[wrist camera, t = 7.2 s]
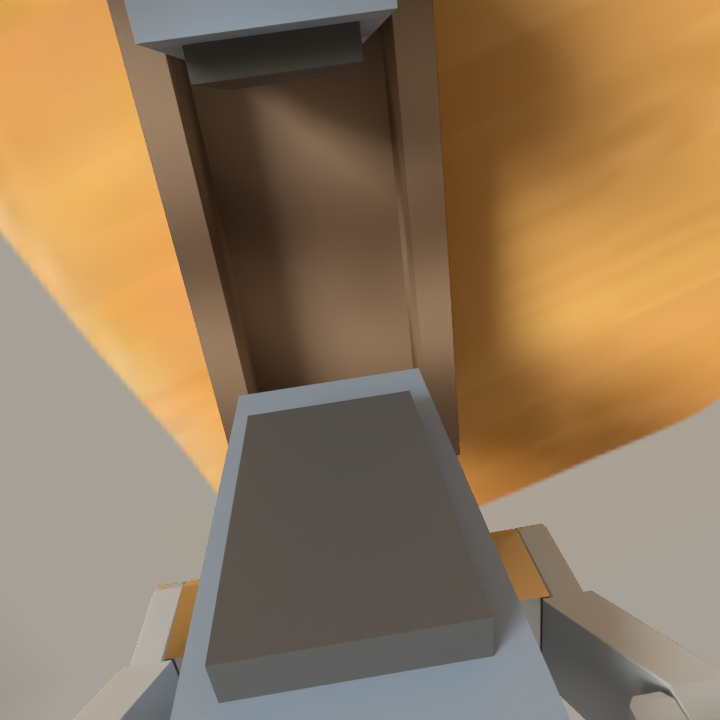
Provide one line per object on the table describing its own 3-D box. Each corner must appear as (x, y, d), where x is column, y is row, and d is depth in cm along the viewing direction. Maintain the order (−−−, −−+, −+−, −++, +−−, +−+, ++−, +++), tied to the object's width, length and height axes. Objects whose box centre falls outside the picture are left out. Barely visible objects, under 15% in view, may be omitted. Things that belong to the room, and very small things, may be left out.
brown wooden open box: (112, -112, 15) (-133, -381, 6) (396, -149, 15) (506, -455, 7) (249, 434, 22) (215, 632, 14) (438, 405, 22) (515, 583, 14)
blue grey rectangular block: (232, 371, 12) (128, 784, 5) (416, 343, 12) (584, 703, 5) (273, 534, 14) (243, 999, 7) (430, 508, 14) (565, 938, 7)
